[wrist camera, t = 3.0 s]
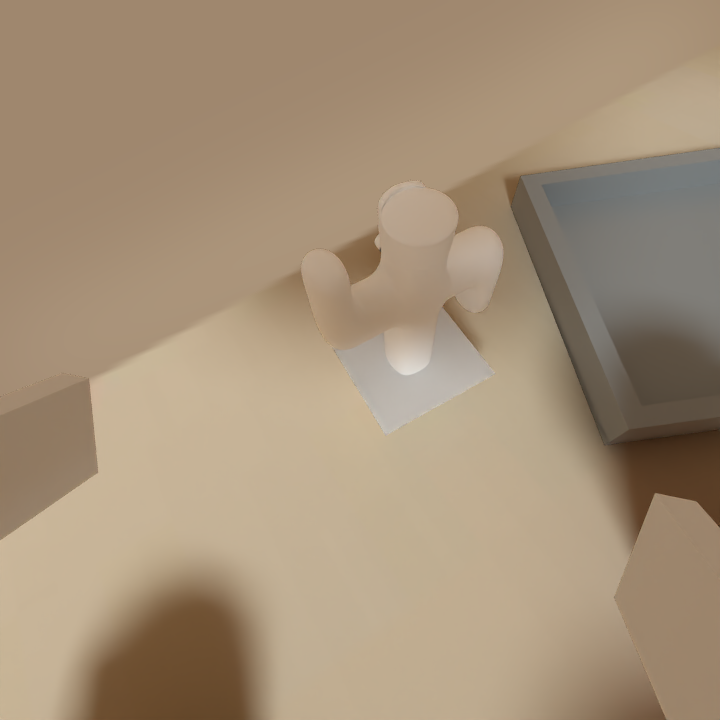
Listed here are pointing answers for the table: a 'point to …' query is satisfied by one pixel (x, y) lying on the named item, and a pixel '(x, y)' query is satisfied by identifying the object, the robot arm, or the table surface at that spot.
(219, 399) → the table surface
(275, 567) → the table surface
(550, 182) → the tray
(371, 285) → the figurine
